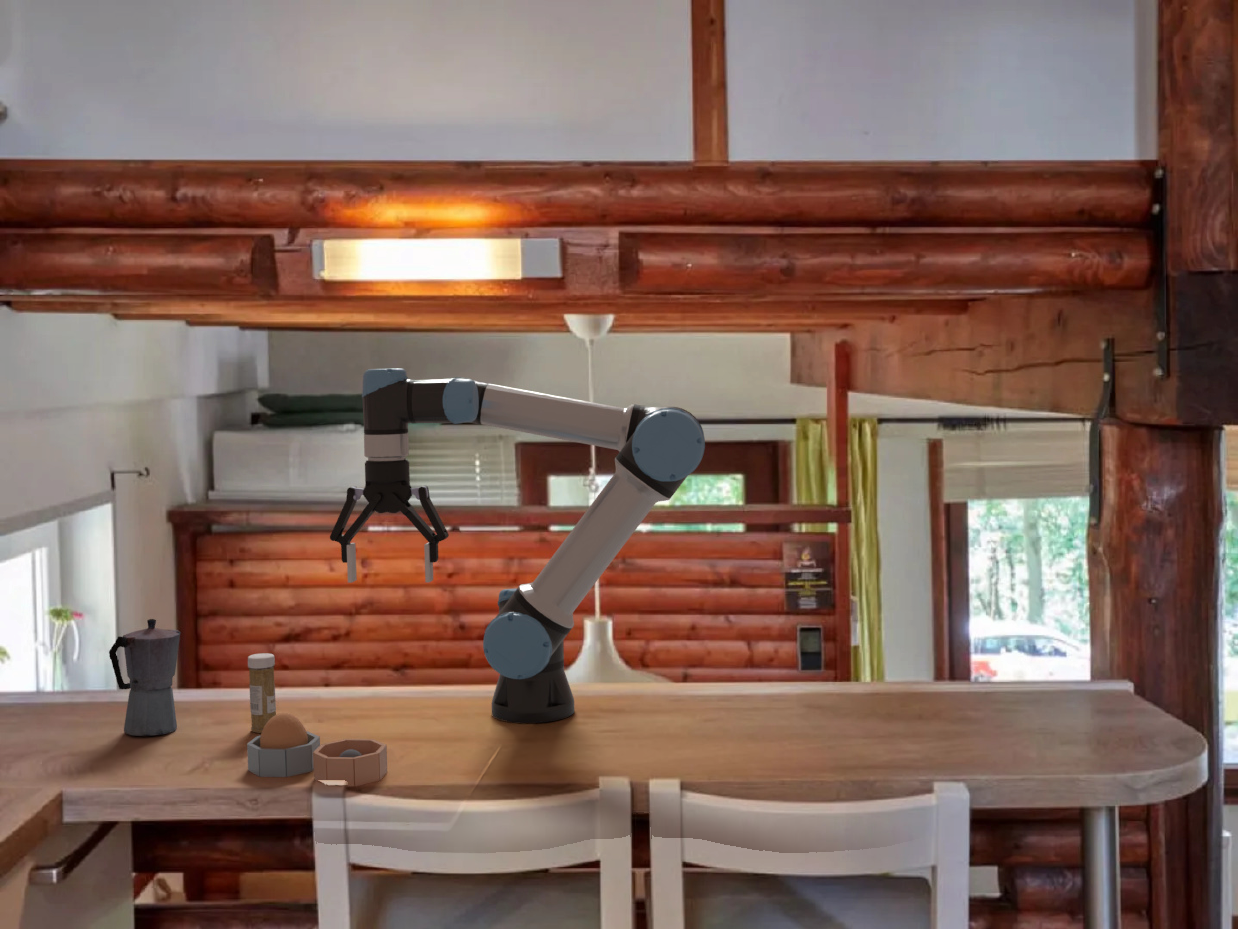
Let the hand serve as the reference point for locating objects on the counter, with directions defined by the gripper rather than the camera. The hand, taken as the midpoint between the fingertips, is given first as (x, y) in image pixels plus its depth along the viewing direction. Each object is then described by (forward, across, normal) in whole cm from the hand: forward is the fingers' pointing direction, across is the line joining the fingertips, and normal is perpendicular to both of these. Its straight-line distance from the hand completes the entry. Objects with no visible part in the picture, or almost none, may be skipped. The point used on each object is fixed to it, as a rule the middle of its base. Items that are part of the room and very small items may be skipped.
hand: (390, 581), depth 230 cm
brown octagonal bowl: (+27, 0, +26) cm, 37 cm away
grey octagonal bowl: (+27, +12, +22) cm, 37 cm away
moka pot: (+27, +44, +1) cm, 52 cm away
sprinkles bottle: (+27, +24, -1) cm, 36 cm away
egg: (+26, +12, +22) cm, 36 cm away
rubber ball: (+26, 0, +26) cm, 37 cm away
